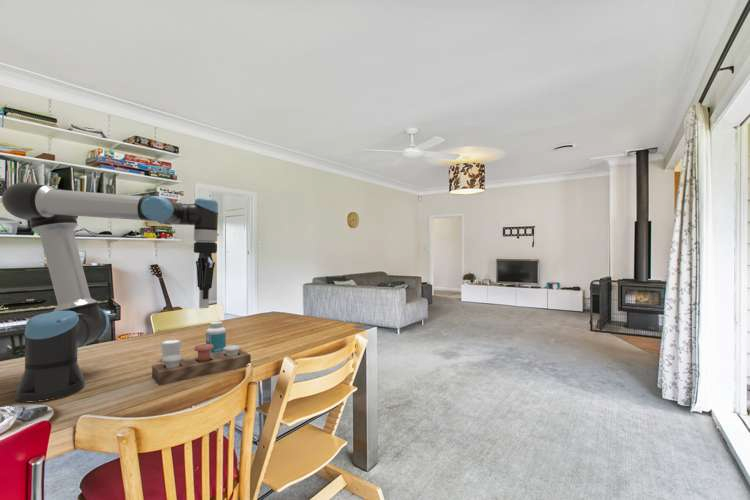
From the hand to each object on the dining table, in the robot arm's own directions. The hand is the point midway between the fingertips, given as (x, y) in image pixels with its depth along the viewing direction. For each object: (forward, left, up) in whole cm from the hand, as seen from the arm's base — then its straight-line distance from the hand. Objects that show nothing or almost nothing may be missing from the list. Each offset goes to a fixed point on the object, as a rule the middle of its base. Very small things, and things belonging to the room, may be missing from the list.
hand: (203, 307), depth 126 cm
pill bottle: (+10, +17, -23) cm, 30 cm away
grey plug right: (+10, 0, -22) cm, 24 cm away
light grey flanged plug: (-5, +23, -23) cm, 33 cm away
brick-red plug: (0, 0, -20) cm, 20 cm away
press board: (0, 0, -23) cm, 23 cm away
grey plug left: (-10, 0, -22) cm, 24 cm away
